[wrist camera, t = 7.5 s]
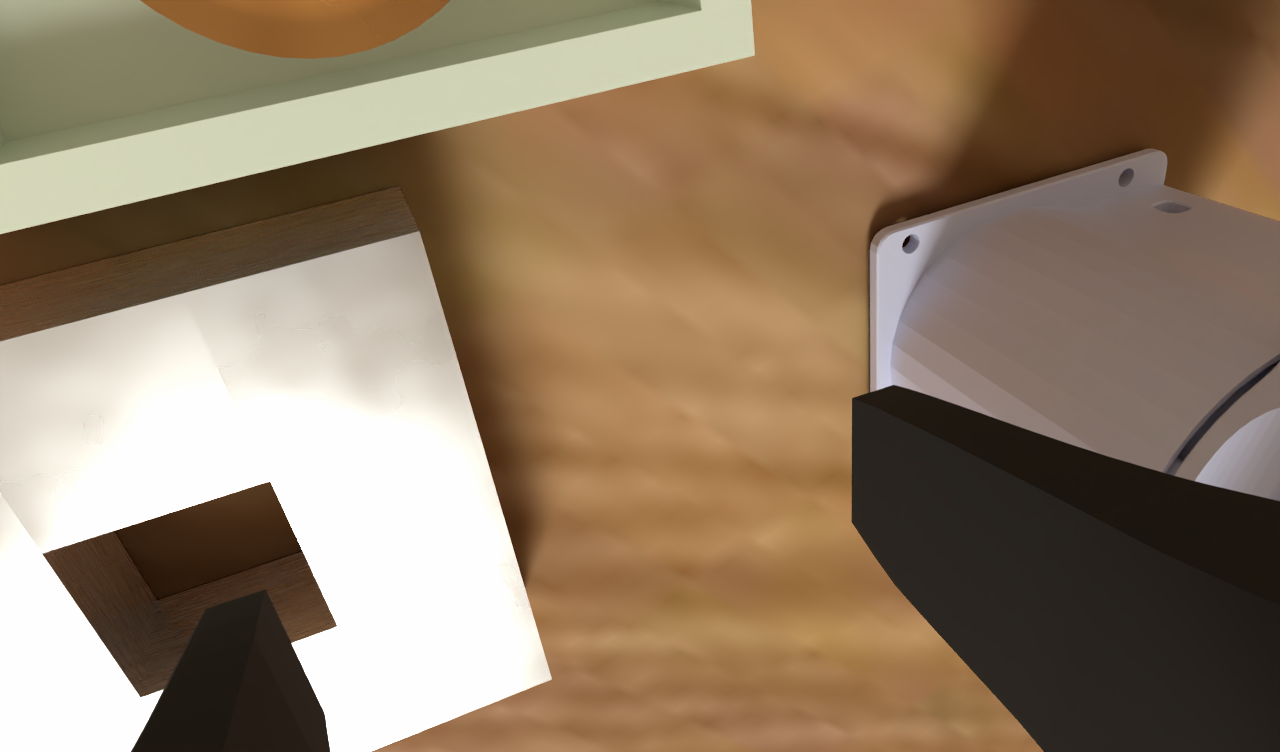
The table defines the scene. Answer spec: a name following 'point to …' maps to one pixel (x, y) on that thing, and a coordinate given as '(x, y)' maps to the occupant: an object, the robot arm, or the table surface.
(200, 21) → the copper-topped gray cylinder
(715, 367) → the table surface
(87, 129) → the tray
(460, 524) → the block
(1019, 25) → the table surface
